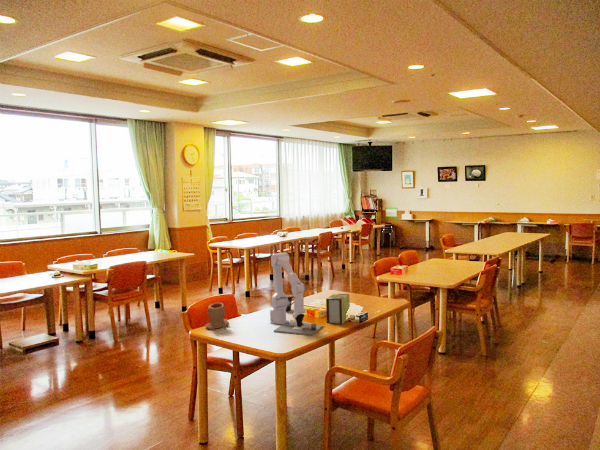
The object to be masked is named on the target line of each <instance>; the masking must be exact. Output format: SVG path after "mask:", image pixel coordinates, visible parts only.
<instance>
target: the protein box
mask: <svg viewBox="0 0 600 450" xmlns="http://www.w3.org/2000/svg"><path fill="white" fill-rule="evenodd" d="M325 303H326V309H325V311H326V323H327V324H337V325H344V324H345V323H346V322H347V321H346V313H347V311H348V309H349V307H350V305H351V304H350V293H338V292H337V293H336V292H335V293H332V294H331V295H329V296H328V297H327V298H325ZM345 321H346V322H345Z"/></svg>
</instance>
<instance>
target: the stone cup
mask: <svg viewBox="0 0 600 450" xmlns="http://www.w3.org/2000/svg"><path fill="white" fill-rule="evenodd" d="M225 311H226V307H225V304H224V303H223V302H214V303H211V304H209V305H208V307H207V316H208V319H209V322H208V323H206V324H204V327H205V328H206V329H210V330H213V329H215V330H216V329H219V328H223V327H226V326H229V325H230V322H229V321H228V319H227V318H225V313H226V312H225Z"/></svg>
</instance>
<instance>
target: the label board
mask: <svg viewBox="0 0 600 450" xmlns="http://www.w3.org/2000/svg"><path fill="white" fill-rule="evenodd" d="M323 326H324V325H322V324H321V325H320V324H316V330H311V329H306V328H300V327H295V326H290V322H289V321H288V322H286V323H285V324H280V326H278V327H276V328H275V329H274V330H273V332H274V333H280V334H290V335H292V334H293V335H300V336H311V337H312V336H313V335H315V334H316V333H317V332H319V331H320V330H321V329H322V328H324V327H323Z"/></svg>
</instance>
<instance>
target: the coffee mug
mask: <svg viewBox="0 0 600 450" xmlns="http://www.w3.org/2000/svg"><path fill="white" fill-rule="evenodd" d="M286 295H287V298H288V301H289V304H288V306H287V308H286V312H291V310H292V305H294V301H293V299H294V297H293V294H286ZM280 298H282V297H280ZM292 301H293V302H292Z"/></svg>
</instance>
